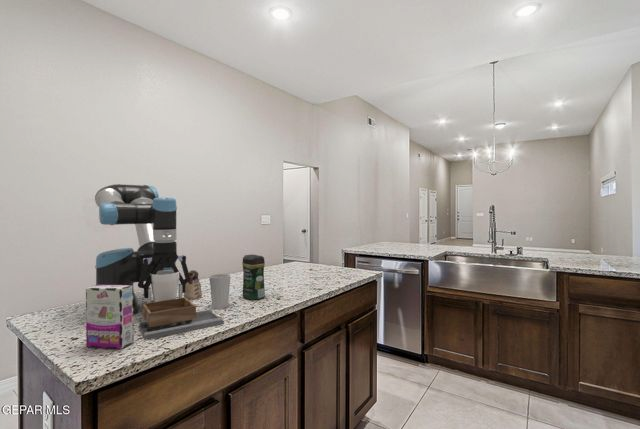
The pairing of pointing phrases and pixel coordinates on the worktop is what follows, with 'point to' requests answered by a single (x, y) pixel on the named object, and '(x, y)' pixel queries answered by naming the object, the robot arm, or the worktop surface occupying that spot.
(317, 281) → the worktop surface
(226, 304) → the cup
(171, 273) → the foam cup
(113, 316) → the candy bar box
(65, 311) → the worktop surface
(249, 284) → the coffee jar
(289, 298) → the worktop surface
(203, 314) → the grey metal tray
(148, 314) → the open wooden crate
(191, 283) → the figurine
